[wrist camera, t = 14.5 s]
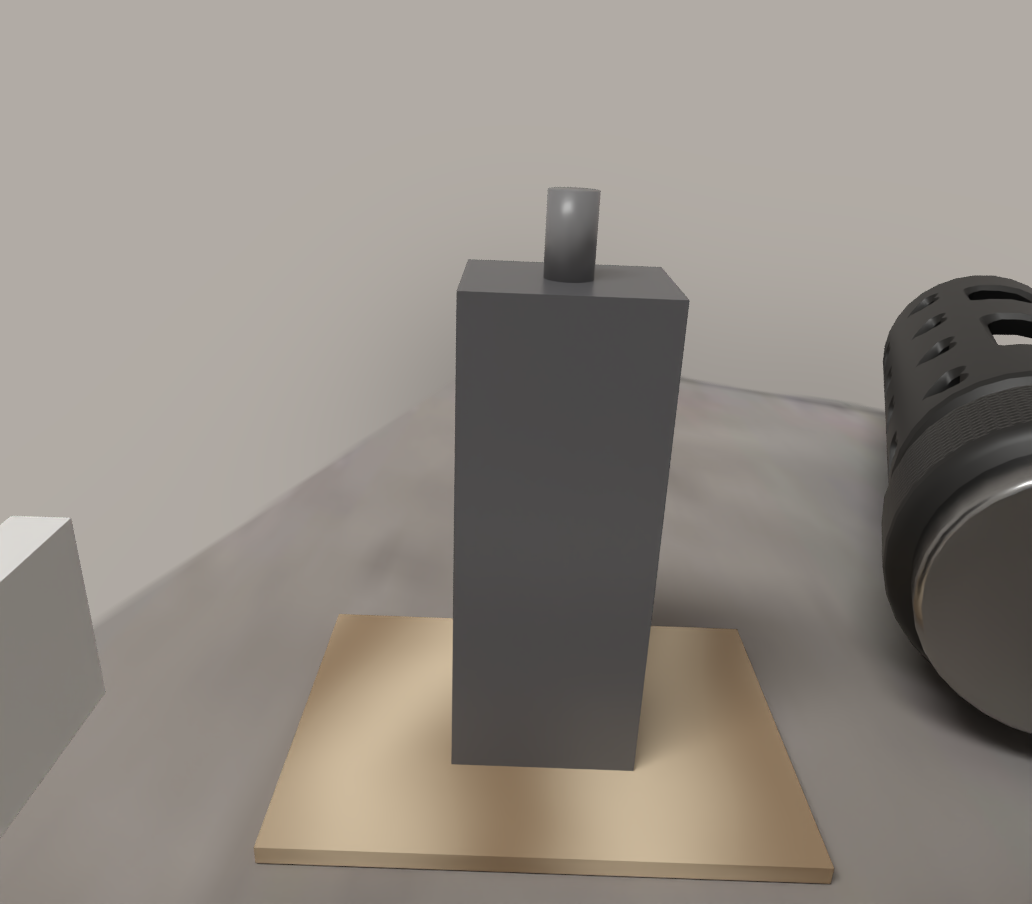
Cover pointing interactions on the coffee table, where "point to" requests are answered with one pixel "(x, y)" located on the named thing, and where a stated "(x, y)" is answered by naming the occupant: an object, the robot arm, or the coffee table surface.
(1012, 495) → the muzzle brake
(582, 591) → the grey rectangular pillar
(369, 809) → the wooden board
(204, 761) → the coffee table surface
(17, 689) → the robot arm
